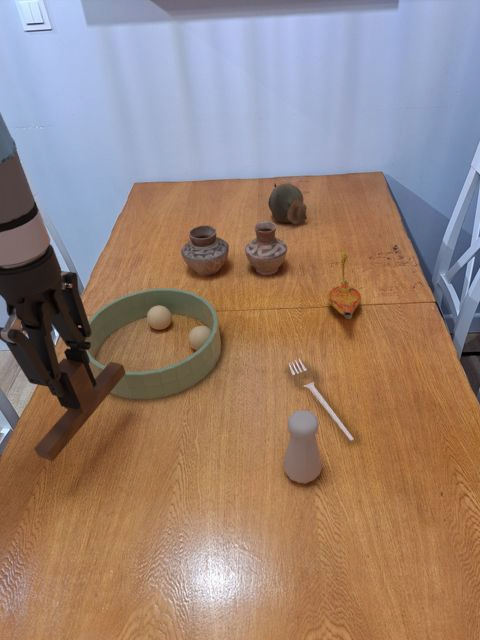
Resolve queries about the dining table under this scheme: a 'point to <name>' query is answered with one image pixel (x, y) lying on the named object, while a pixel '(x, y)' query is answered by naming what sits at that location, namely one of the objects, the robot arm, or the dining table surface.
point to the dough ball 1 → (159, 317)
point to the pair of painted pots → (212, 251)
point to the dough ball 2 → (199, 336)
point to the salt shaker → (302, 447)
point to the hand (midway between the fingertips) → (79, 394)
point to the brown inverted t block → (88, 400)
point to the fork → (321, 399)
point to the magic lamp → (344, 295)
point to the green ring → (167, 377)
